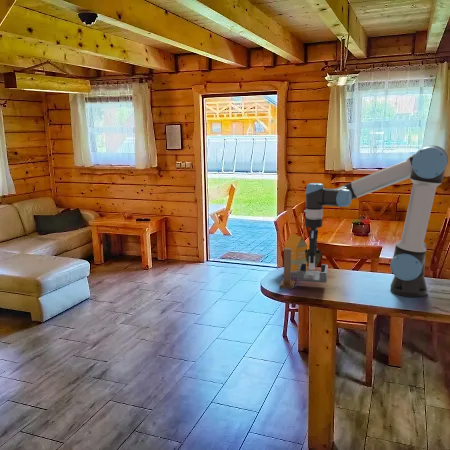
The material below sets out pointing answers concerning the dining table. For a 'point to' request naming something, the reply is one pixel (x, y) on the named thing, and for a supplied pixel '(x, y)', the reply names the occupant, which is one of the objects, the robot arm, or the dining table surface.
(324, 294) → the dining table surface
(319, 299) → the dining table surface
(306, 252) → the cup
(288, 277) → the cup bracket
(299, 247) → the orange juice
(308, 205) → the robot arm
